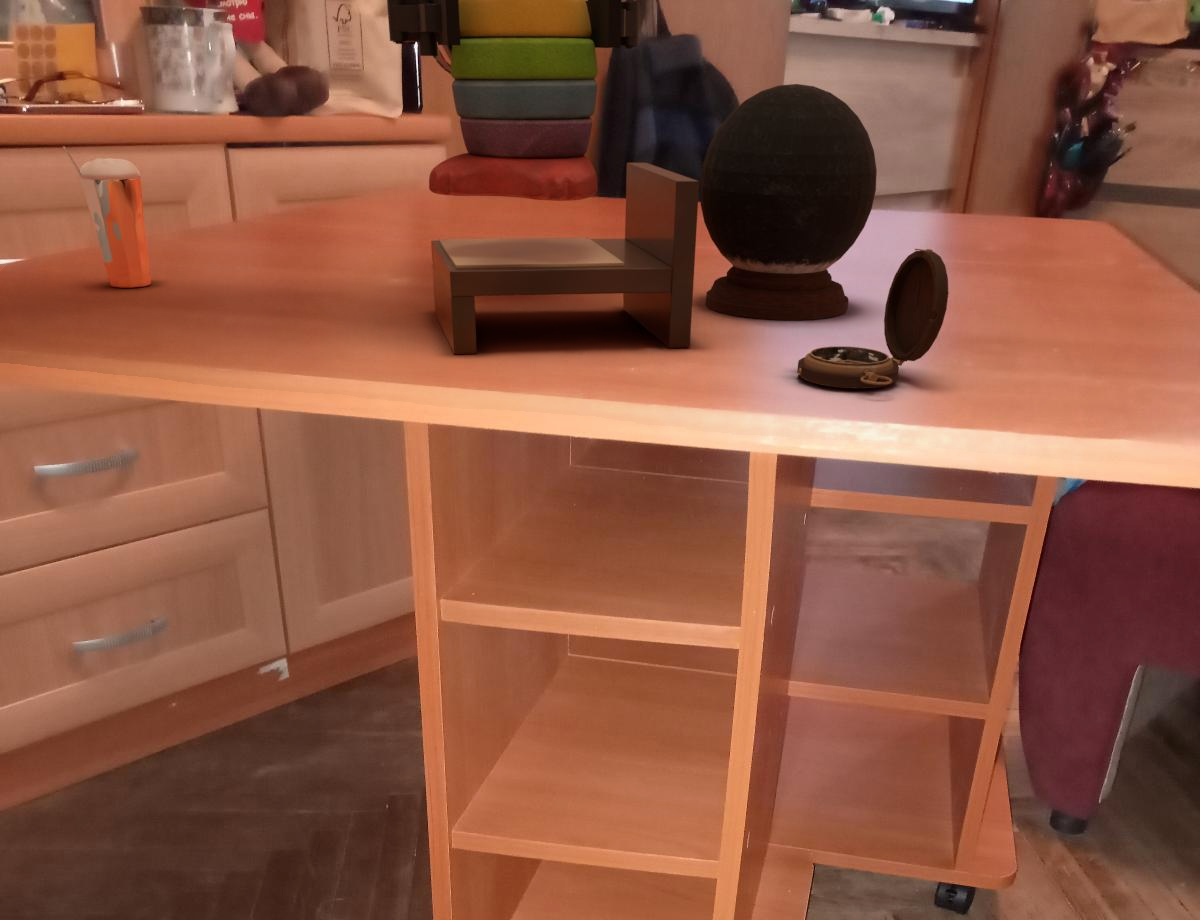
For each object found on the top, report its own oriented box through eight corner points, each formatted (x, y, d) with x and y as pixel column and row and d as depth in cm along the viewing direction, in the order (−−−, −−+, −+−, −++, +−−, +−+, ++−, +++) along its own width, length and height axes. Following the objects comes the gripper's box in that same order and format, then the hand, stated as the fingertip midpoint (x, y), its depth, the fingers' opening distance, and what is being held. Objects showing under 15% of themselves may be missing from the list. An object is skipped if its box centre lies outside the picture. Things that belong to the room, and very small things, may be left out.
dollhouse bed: (453, 354, 75) (445, 181, 69) (435, 313, 86) (426, 162, 81) (690, 347, 78) (699, 180, 72) (641, 309, 89) (646, 162, 84)
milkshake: (83, 284, 94) (53, 144, 89) (147, 278, 97) (122, 142, 92) (103, 292, 91) (74, 148, 86) (168, 285, 94) (144, 146, 89)
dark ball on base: (875, 323, 86) (908, 88, 78) (699, 321, 86) (714, 84, 77) (843, 292, 97) (868, 83, 89) (687, 290, 97) (698, 80, 88)
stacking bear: (418, 195, 74) (395, -162, 64) (479, 181, 82) (466, -138, 73) (577, 202, 72) (577, -168, 62) (623, 188, 80) (630, -142, 70)
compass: (780, 370, 73) (792, 243, 69) (894, 365, 74) (913, 241, 70) (830, 401, 66) (847, 263, 62) (954, 396, 68) (979, 261, 64)
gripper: (626, 84, 90) (707, 95, 72) (345, 81, 87) (355, 91, 68) (629, -33, 86) (715, -54, 68) (334, -42, 82) (341, -67, 64)
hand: (534, 19), depth 68 cm, fingers closed on stacking bear, 9 cm apart
